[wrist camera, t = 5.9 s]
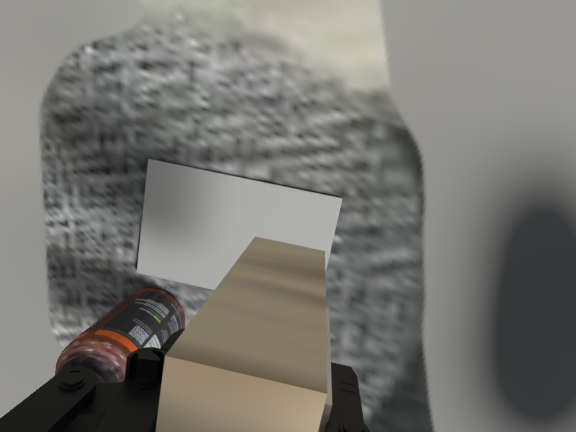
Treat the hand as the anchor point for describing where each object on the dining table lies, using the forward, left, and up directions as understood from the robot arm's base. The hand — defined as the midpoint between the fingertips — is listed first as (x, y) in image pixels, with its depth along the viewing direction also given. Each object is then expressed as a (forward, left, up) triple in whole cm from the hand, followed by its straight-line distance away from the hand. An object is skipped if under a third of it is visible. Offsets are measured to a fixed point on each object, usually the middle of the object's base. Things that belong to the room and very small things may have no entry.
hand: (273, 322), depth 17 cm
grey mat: (0, -5, -12) cm, 13 cm away
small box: (0, 0, -1) cm, 1 cm away
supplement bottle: (+9, -11, -12) cm, 19 cm away
